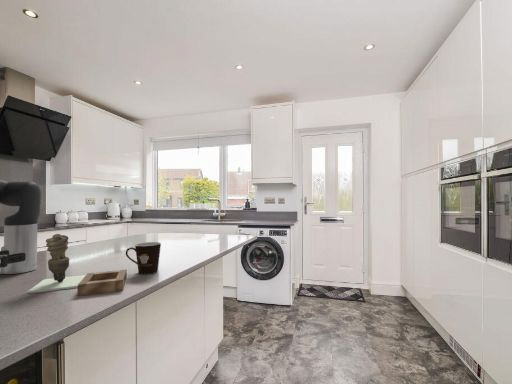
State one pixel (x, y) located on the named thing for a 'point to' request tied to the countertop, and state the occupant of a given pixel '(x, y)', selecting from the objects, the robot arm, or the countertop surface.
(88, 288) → the brown wooden square frame
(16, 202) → the robot arm
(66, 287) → the mat
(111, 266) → the countertop surface
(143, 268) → the coffee mug
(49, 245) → the light bulb
